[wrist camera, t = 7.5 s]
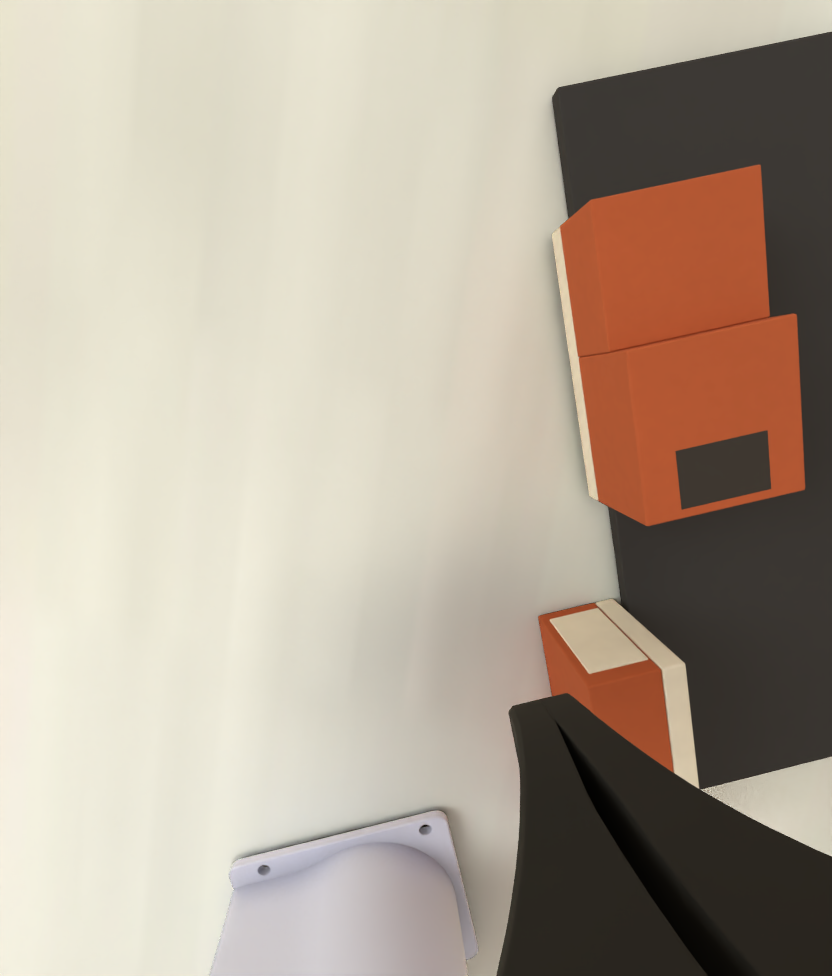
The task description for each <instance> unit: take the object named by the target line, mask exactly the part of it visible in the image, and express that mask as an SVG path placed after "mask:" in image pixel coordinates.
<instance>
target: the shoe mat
mask: <svg viewBox="0 0 832 976" xmlns="http://www.w3.org/2000/svg"><path fill="white" fill-rule="evenodd" d="M552 100H553V107H554V114H555V122H556V129H557V136H558V144H559V151H560V158H561V165H562V173H563V180H564V187H565V195H566V202H567V209H568V216H569V218H570V217H571V216H573V215H574V214H575V213H576V212H577V211H578V210H580V209H581V208H582V207H583V206H584V205H585V204H586V203H588V202H589V201H590V200H592V199H597V198H602V197H607V196H612V195H616V194H621V193H626V192H631V191H635V190H640V189H645V188H650V187H654V186H659V185H664V184H669V183H673V182H678V181H683V180H688V179H692V178H697V177H702V176H707V175H711V174H716V173H721V172H726V171H731V170H735V169H740V168H745V167H750V166H754V165H761V176H762V193H763V210H764V227H765V244H766V261H767V278H768V294H769V311H770V316H769V317H768V318H770V317H775V316H781V315H787V314H793V313H794V314H796V315H797V327H798V348H799V368H800V389H801V410H802V431H803V451H804V472H805V490H802V491H798V492H793V493H789V494H785V495H781V496H776V497H772V498H768V499H763V500H759V501H755V502H750V503H746V504H742V505H738V506H733V507H729V508H725V509H720V510H716V511H712V512H708V513H703V514H699V515H695V516H690V517H686V518H682V519H677V520H673V521H669V522H665V523H660V524H656V525H652V526H645V525H643V524H641V523H640V522H638V521H636V520H634V519H632V518H630V517H628V516H626V515H624V514H622V513H620V512H618V511H616V510H614V509H613V508H611V507H609V506H608V507H609V515H610V522H611V529H612V537H613V544H614V551H615V558H616V566H617V573H618V580H619V588H620V595H621V602H622V607H623V608H624V609H625V610H626V611H627V612H628V613H630V614H631V615H632V616H633V617H634V618H635V619H636V620H637V621H638V622H640V623H641V624H642V625H643V626H644V627H645V628H646V629H647V630H648V631H650V632H651V633H652V634H653V635H654V636H655V637H656V638H657V639H658V640H660V641H661V642H662V643H663V644H664V645H665V646H666V647H667V648H668V649H670V650H671V651H672V652H673V653H674V654H675V655H676V656H677V657H678V658H680V659H681V660H682V661H683V662H684V663H685V666H686V675H687V684H688V693H689V702H690V711H691V720H692V729H693V738H694V747H695V756H696V765H697V774H698V783H699V789H704V788H708V787H712V786H716V785H720V784H724V783H728V782H732V781H736V780H740V779H744V778H748V777H752V776H756V775H760V774H764V773H768V772H772V771H776V770H780V769H784V768H788V767H792V766H795V765H799V764H803V763H807V762H811V761H815V760H819V759H823V758H827V757H831V756H832V32H828V33H823V34H818V35H813V36H808V37H803V38H799V39H794V40H789V41H784V42H779V43H774V44H769V45H764V46H759V47H754V48H750V49H745V50H740V51H735V52H730V53H725V54H720V55H715V56H710V57H705V58H700V59H696V60H691V61H686V62H681V63H676V64H671V65H666V66H661V67H656V68H651V69H647V70H642V71H637V72H632V73H627V74H622V75H617V76H612V77H607V78H602V79H597V80H593V81H588V82H583V83H578V84H573V85H568V86H563V87H559V88H557V90H556V92H555V93H554V95H553V97H552Z"/></svg>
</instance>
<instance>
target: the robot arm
mask: <svg viewBox="0 0 832 976" xmlns="http://www.w3.org/2000/svg"><path fill="white" fill-rule="evenodd" d="M509 717H510V722H511V727H512V732H513V737H514V742H515V747H516V752H517V757H518V762H519V767H520V826H519V841H518V852H517V862H516V871H515V879H514V886H513V893H512V900H511V907H510V913H509V918H508V924H507V929H506V934H505V939H504V943H503V948H502V953H501V957H500V962H499V967H498V971H497V976H832V857H831V856H829V855H827V854H824V853H822V852H820V851H817V850H815V849H813V848H811V847H809V846H807V845H805V844H802V843H800V842H798V841H796V840H794V839H792V838H790V837H788V836H786V835H784V834H782V833H779V832H777V831H775V830H773V829H771V828H769V827H767V826H765V825H763V824H761V823H759V822H757V821H755V820H753V819H751V818H749V817H748V816H746V815H744V814H742V813H740V812H738V811H737V810H735V809H733V808H731V807H729V806H728V805H726V804H724V803H722V802H721V801H719V800H717V799H715V798H713V797H712V796H710V795H708V794H707V793H705V792H703V791H702V790H700V789H698V788H697V787H695V786H694V785H692V784H690V783H689V782H687V781H686V780H684V779H683V778H681V777H680V776H678V775H676V774H675V773H673V772H672V771H670V770H669V769H667V768H666V767H664V766H663V765H661V764H660V763H659V762H657V761H656V760H654V759H653V758H651V757H650V756H648V755H647V754H646V753H644V752H643V751H642V750H640V749H639V748H637V747H636V746H635V745H633V744H632V743H631V742H629V741H628V740H627V739H625V738H624V737H622V736H621V735H620V734H619V733H617V732H616V731H615V730H613V729H612V728H611V727H610V726H608V725H607V724H606V723H604V722H603V721H602V720H601V719H599V718H598V717H597V716H596V715H595V714H593V713H592V712H591V711H590V710H588V709H587V708H586V707H585V706H584V705H582V704H581V703H580V702H579V701H578V700H576V699H575V698H574V697H573V696H571V695H570V694H568V693H564V694H560V695H556V696H552V697H548V698H543V699H539V700H535V701H531V702H527V703H523V704H519V705H515V706H512V708H511V709H510V710H509ZM423 825H429V826H427V827H421V826H423ZM262 865H266V866H268V867H264V866H262ZM229 878H230V881H231V884H232V887H233V889H234V890H233V893H232V897H231V901H230V904H229V908H228V911H227V915H226V918H225V922H224V925H223V929H222V932H221V936H220V939H219V943H218V946H217V950H216V954H215V957H214V961H213V964H212V968H211V971H210V975H209V976H468V971H467V964H466V960H468V959H471V958H473V957H474V956H475V955H476V954H477V952H478V944H477V939H476V935H475V930H474V926H473V922H472V918H471V914H470V910H469V906H468V902H467V897H466V893H465V889H464V885H463V881H462V877H461V873H460V869H459V864H458V860H457V856H456V852H455V848H454V844H453V840H452V836H451V831H450V827H449V823H448V819H447V816H446V814H445V813H444V812H442V811H439V810H436V811H430V812H426V813H422V814H418V815H414V816H410V817H406V818H402V819H398V820H394V821H390V822H386V823H382V824H378V825H374V826H370V827H366V828H362V829H358V830H354V831H350V832H346V833H342V834H338V835H334V836H330V837H326V838H322V839H318V840H314V841H310V842H306V843H302V844H298V845H294V846H290V847H286V848H282V849H278V850H274V851H270V852H266V853H262V854H258V855H254V856H250V857H246V858H242V859H239V860H236V861H235V862H234V863H233V864H232V866H231V869H230V872H229Z"/></svg>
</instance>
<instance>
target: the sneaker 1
mask: <svg viewBox="0 0 832 976" xmlns="http://www.w3.org/2000/svg"><path fill="white" fill-rule="evenodd" d="M538 619H539V624H540V630H541V636H542V641H543V647H544V653H545V658H546V664H547V669H548V675H549V681H550V686H551V692H552V696H556V695H560V694H564V693H568V694H570V695H571V696H573V697H574V698H575V699H576V700H578V701H579V702H580V703H581V704H582V705H584V706H585V707H586V708H587V709H588V710H590V711H591V712H592V713H593V714H595V715H596V716H597V717H598V718H599V719H601V720H602V721H603V722H604V723H606V724H607V725H608V726H610V727H611V728H612V729H613V730H615V731H616V732H617V733H619V734H620V735H621V736H622V737H624V738H625V739H627V740H628V741H629V742H631V743H632V744H633V745H635V746H636V747H637V748H639V749H640V750H642V751H643V752H644V753H646V754H647V755H648V756H650V757H651V758H653V759H654V760H656V761H657V762H659V763H660V764H661V765H663V766H664V767H666V768H667V769H669V770H670V771H672V772H673V773H675V774H676V775H678V776H680V777H681V778H683V779H684V780H686V781H687V782H689V783H690V784H692V785H694V786H695V787H697V788H698V789H699V783H698V774H697V765H696V756H695V747H694V738H693V729H692V720H691V711H690V702H689V693H688V684H687V675H686V666H685V663H684V662H683V661H682V660H681V659H680V658H678V657H677V656H676V655H675V654H674V653H673V652H672V651H671V650H670V649H668V648H667V647H666V646H665V645H664V644H663V643H662V642H661V641H660V640H658V639H657V638H656V637H655V636H654V635H653V634H652V633H651V632H650V631H648V630H647V629H646V628H645V627H644V626H643V625H642V624H641V623H640V622H638V621H637V620H636V619H635V618H634V617H633V616H632V615H631V614H630V613H628V612H627V611H626V610H625V609H624V608H623V607H622V606H621V605H620V604H618V603H617V602H616V601H615V600H614V599H608V600H604V601H600V602H596V603H591V604H586V605H582V606H578V607H574V608H570V609H566V610H561V611H557V612H553V613H549V614H545V615H540V616H539V617H538Z"/></svg>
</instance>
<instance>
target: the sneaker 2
mask: <svg viewBox="0 0 832 976" xmlns="http://www.w3.org/2000/svg"><path fill="white" fill-rule="evenodd" d="M552 240H553V247H554V254H555V261H556V268H557V275H558V282H559V289H560V296H561V303H562V310H563V316H564V323H565V330H566V337H567V344H568V351H569V358H570V365H571V372H572V379H573V386H574V393H575V400H576V407H577V414H578V421H579V428H580V435H581V442H582V449H583V456H584V463H585V470H586V477H587V484H588V491H589V496H590V497H591V498H593V499H595V500H597V501H599V502H601V503H603V504H605V505H607V506H609V507H611V508H613V509H614V510H616V511H618V512H620V513H622V514H624V515H626V516H628V517H630V518H632V519H634V520H636V521H638V522H640V523H641V524H643V525H645V526H652V525H656V524H660V523H665V522H669V521H673V520H677V519H682V518H686V517H690V516H695V515H699V514H703V513H708V512H712V511H716V510H720V509H725V508H729V507H733V506H738V505H742V504H746V503H750V502H755V501H759V500H763V499H768V498H772V497H776V496H781V495H785V494H789V493H793V492H798V491H802V490H805V472H804V451H803V431H802V410H801V389H800V368H799V348H798V327H797V315H796V314H794V313H793V314H787V315H781V316H775V317H770V318H768V317H769V316H770V311H769V294H768V278H767V261H766V244H765V227H764V210H763V193H762V176H761V165H754V166H750V167H745V168H740V169H735V170H731V171H726V172H721V173H716V174H711V175H707V176H702V177H697V178H692V179H688V180H683V181H678V182H673V183H669V184H664V185H659V186H654V187H650V188H645V189H640V190H635V191H631V192H626V193H621V194H616V195H612V196H607V197H602V198H597V199H592V200H590V201H589V202H588V203H586V204H585V205H584V206H583V207H582V208H581V209H580V210H578V211H577V212H576V213H575V214H574V215H573V216H571V217H570V218H569V219H568V220H567V221H566V222H565V223H563V224H562V225H561V226H560V227H559V228H558V229H557V230H556V231H555V232H553V233H552Z"/></svg>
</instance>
